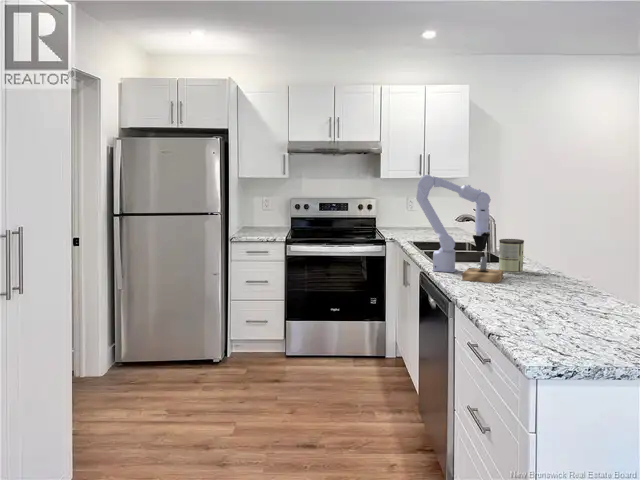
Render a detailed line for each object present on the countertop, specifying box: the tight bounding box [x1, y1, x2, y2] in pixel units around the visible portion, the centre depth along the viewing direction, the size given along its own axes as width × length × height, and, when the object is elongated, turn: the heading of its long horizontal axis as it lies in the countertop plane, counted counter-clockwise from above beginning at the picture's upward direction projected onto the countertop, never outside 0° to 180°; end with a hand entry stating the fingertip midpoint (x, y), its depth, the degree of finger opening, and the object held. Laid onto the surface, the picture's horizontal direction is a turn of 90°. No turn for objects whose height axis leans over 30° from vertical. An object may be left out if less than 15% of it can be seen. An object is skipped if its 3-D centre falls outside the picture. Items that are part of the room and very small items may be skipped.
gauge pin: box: [479, 256, 488, 273], centre depth 229 cm, size 2×2×9 cm
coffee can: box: [498, 238, 525, 275], centre depth 245 cm, size 10×10×14 cm
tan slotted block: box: [461, 267, 504, 284], centre depth 229 cm, size 14×14×3 cm
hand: (480, 250), depth 245 cm, fingers open, 7 cm apart
